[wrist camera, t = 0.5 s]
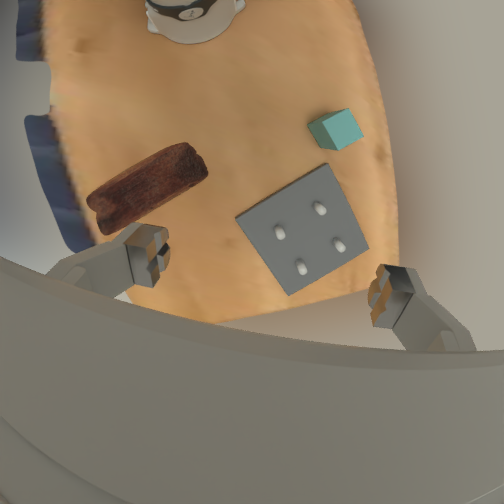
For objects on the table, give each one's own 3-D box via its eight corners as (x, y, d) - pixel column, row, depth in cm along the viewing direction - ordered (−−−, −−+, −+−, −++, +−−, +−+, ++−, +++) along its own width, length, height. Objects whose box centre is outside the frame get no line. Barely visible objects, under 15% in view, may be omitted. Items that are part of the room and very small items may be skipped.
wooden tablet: (190, 133, 44) (212, 183, 47) (193, 134, 46) (214, 182, 49) (82, 198, 48) (100, 240, 50) (87, 196, 50) (105, 237, 52)
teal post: (306, 124, 45) (322, 121, 36) (328, 112, 44) (348, 108, 35) (320, 147, 46) (338, 150, 37) (342, 135, 46) (363, 136, 36)
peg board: (235, 217, 51) (234, 226, 46) (325, 162, 48) (334, 165, 43) (287, 292, 58) (291, 306, 53) (366, 245, 55) (377, 256, 50)
